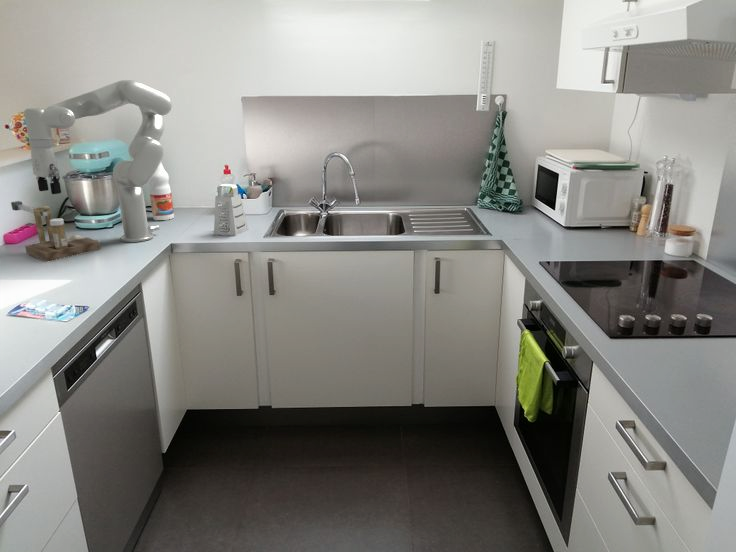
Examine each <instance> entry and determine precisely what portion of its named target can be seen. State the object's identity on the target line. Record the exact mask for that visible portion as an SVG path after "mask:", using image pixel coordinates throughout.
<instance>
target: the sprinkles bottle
mask: <svg viewBox="0 0 736 552" xmlns="http://www.w3.org/2000/svg"><path fill="white" fill-rule="evenodd" d="M50 225H51V228H52V234H53V239H54V244H55V247H56V250H60V249H64V248H68V243H67V238H66V237H67V233H66V229H65V222H64V219H63V218H61V217H60V218H52V220H50Z"/></svg>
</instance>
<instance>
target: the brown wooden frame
mask: <svg viewBox="0 0 736 552" xmlns="http://www.w3.org/2000/svg"><path fill="white" fill-rule="evenodd" d="M43 210H44V211H47V213H48V216H44V218H45V219H44V220H45V224H46V228H47V229H46V230H47V233H48V240H47V239H46V234H45V230H44V225H43V220H42V216H41V214H40V211H43ZM33 212H34V213H33V216H34V221H35V226H36V230H37V236H38V241H39V242H38V243H33V244H29V245H25V247H24V248H25V252H26V254H27V255H29V256H31V255H32V256H31V257H34V258H37V259H39V260H42V261H44V260H45V261H44V262H48V261H49V262H53V261H56V259H57V260H60V258H61V259H64V257H65V258H68V256H69V257H73V256H77V254H78V255H81V253H82V254H84V253H85V252H86V253H90V252H94V251H97V250H101V246H100V241H99V240H95V239H91V238H89V237H87V236H84V235H83V236H82V235H79V234H75V235H70V236H66V238H67V243H68V248H64V249H60V250H56V247H55V244H54V239H53V234H52V228H51V225H50V220H52V219H53V218H52V213H51V208H50V206H48V205H44V206H40V207H39V206H38V207H33ZM86 253H85V254H86ZM72 255H73V256H72ZM52 260H53V261H52Z"/></svg>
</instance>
